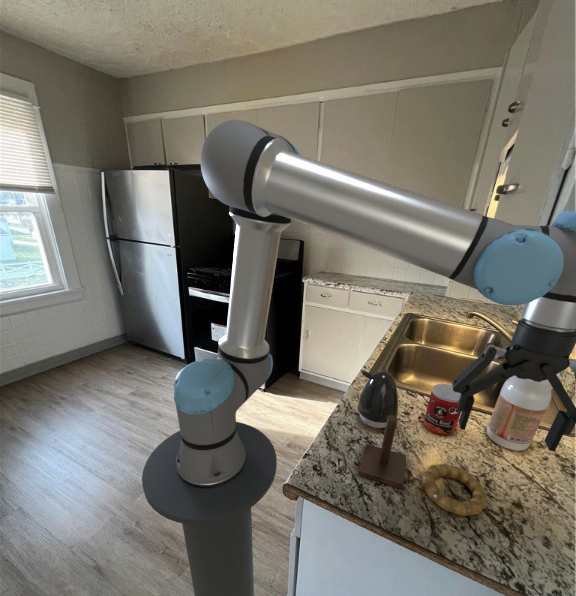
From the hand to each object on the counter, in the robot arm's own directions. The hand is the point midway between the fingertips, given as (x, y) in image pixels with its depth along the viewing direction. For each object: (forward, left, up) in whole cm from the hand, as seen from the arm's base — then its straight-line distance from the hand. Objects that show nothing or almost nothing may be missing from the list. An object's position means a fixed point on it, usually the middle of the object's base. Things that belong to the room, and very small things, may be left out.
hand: (503, 435), depth 56 cm
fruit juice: (+9, +23, -16) cm, 30 cm away
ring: (-5, -1, -15) cm, 16 cm away
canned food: (-7, +21, -16) cm, 28 cm away
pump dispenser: (-23, +16, -16) cm, 32 cm away
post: (-19, 0, -16) cm, 25 cm away
